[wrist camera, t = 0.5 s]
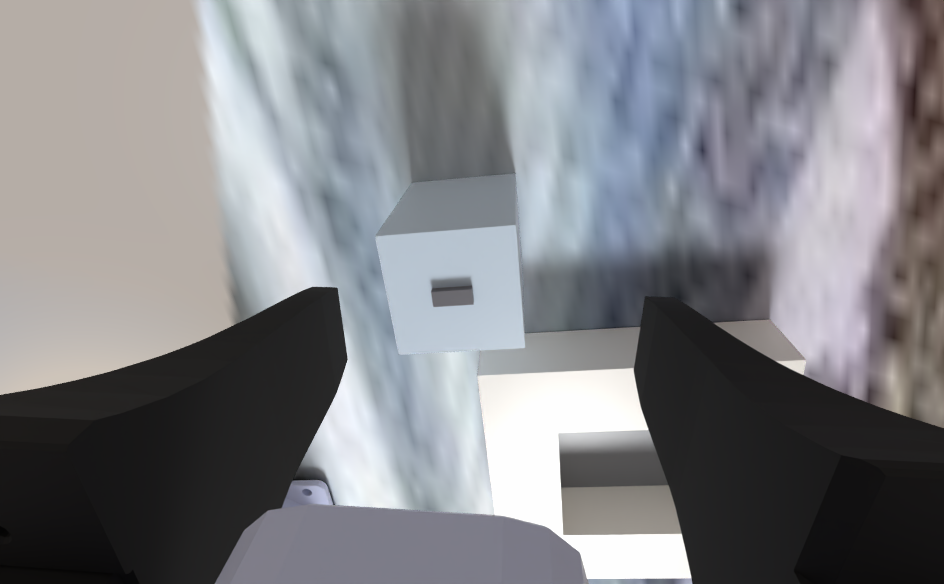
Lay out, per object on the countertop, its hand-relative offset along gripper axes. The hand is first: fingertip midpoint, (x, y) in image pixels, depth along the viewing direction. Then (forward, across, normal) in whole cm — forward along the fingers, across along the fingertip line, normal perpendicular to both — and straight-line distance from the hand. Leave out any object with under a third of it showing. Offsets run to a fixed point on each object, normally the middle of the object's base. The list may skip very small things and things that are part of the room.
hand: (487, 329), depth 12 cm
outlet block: (+9, -6, +11) cm, 15 cm away
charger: (+9, +1, +1) cm, 9 cm away
